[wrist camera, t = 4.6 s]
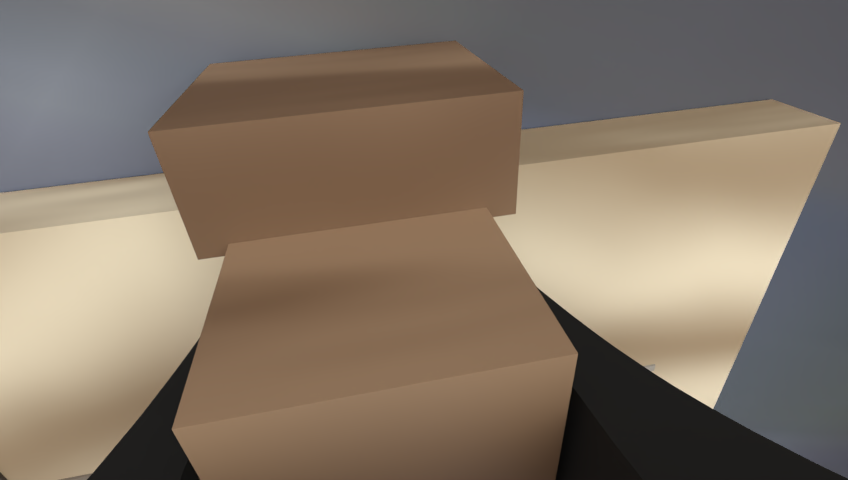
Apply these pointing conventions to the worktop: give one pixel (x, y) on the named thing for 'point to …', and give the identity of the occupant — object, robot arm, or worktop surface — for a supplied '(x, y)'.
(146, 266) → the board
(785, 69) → the worktop surface
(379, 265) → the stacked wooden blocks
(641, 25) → the worktop surface
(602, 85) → the worktop surface
